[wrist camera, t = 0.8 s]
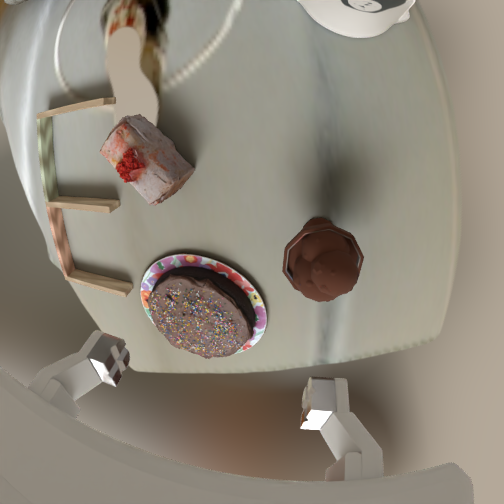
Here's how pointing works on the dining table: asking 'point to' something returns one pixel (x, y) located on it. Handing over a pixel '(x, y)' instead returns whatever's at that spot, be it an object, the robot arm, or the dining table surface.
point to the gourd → (14, 1)
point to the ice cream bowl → (322, 261)
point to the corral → (71, 203)
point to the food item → (146, 159)
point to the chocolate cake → (203, 305)
